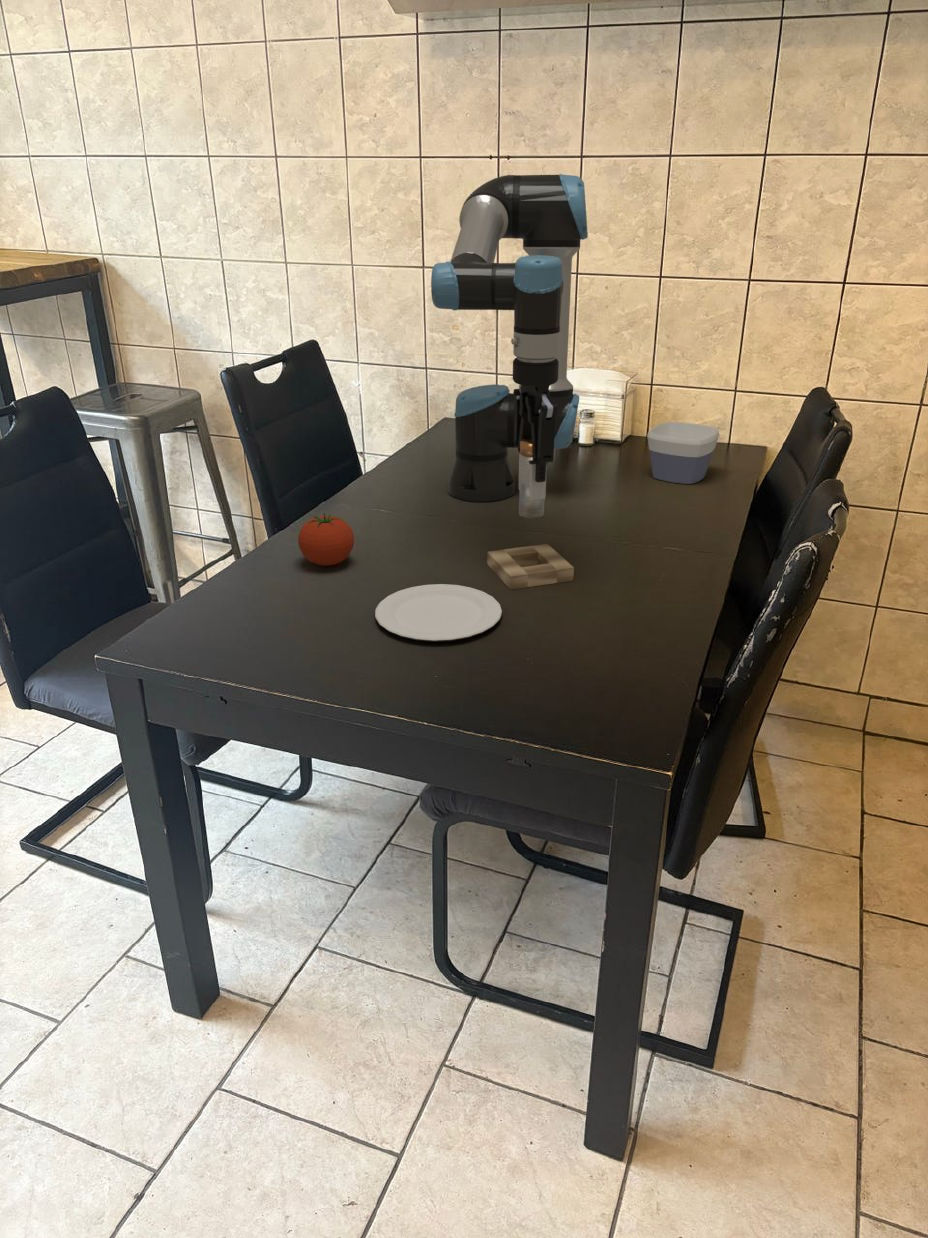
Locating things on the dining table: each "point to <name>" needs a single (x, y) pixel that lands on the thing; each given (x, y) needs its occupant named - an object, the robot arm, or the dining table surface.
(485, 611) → the plate
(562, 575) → the socket block
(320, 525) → the tomato
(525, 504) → the clear jar
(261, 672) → the dining table surface
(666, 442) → the bowl
